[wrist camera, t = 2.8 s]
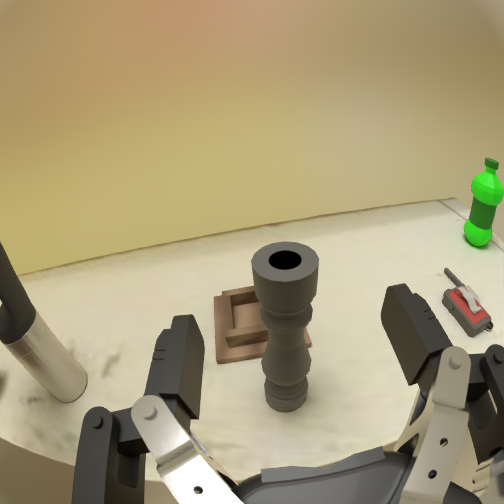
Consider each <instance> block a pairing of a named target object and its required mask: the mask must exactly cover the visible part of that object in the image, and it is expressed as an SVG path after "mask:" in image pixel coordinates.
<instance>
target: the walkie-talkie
mask: <svg viewBox="0 0 504 504" xmlns="http://www.w3.org/2000/svg"><path fill="white" fill-rule="evenodd" d="M444 271H445V272H446V273H447V274H448V275H449V276H450V277H451V278H452V279H453V281H454V282H455V283H456V284H457V285H458V286H456V287H455V288H453V289H451V290H450V289H447V290H446V291H445V292H444V295H443V296H444V297H443V300H442V303H443V304H444V306H445V307H446V308H447V309H448V311H449V312H450V313H451V314H452V316H454V318H455V319H456V320H457V322H458V323H459V324H460V325H461V327H462V328H463V329H464V331H465V332H466V333H467V335H468V336H469V337H474V336H475V335H477V334H479V333H480V332H482V331H483V330H485V329H486V328H488V329H489V330H490V329H492V328H493V323H492V322H491V317H490V315H489V314H488V313H487V312H486V311H485V310H484V308H483V307H482V306H481V305H480V302H479V297H478V295H477V294H476V293H475V292H474V291H473V290H472V289H471V287H470V286H469V285H468V286H465V285H464V284H462V283H461V282H460V281H459V280H458V278H457V277H456V276H455V275H454V274H453V273H452V272H451V271H450V270H449V269H448V268H445V269H444ZM489 324H490V326H489Z"/></svg>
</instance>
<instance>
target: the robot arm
mask: <svg viewBox="0 0 504 504" xmlns="http://www.w3.org/2000/svg"><path fill="white" fill-rule="evenodd" d="M0 299H1V301H2V305H1V307H0V340H1V342H2V343H3V344H4V345H5V346H6V347H7V349H8V350H9V351H10V352H11V353H12V354H13V355H14V357H15V358H16V359H17V360H18V361H19V362H20V363H21V364H22V365H23V366H24V368H25V369H26V370H27V371H28V372H29V373H30V374H31V375H32V376H33V377H34V378H35V379H36V380H37V381H38V382H39V383H40V384H41V385H43V386H44V387H45V388H46V389H47V390H48V391H49V392H50V393H51V394H53V395H54V396H55V397H56V398H58V399H59V400H60V401H62V402H71V401H74V400H75V399H77V398H78V397H79V396H80V395H81V394H82V393H83V391H84V389H85V387H86V383H87V375H86V372H85V370H84V369H83V368H82V367H81V366H80V365H79V364H78V363H77V361H76V360H75V359H74V358H73V357H72V356H71V354H70V353H69V352H68V351H67V350H66V349H65V347H64V346H63V345H62V344H61V342H60V341H59V340H58V339H57V337H56V336H55V335H54V334H53V332H52V331H51V330H50V328H49V327H48V326H47V324H46V323H45V322H44V320H43V319H42V318H41V316H40V315H39V313H38V312H37V310H36V309H35V308H34V306H33V305H32V303H31V301H30V299H29V297H28V295H27V293H26V291H25V289H24V288H23V286H22V284H21V282H20V281H19V279H18V277H17V275H16V273H15V271H14V269H13V267H12V265H11V263H10V261H9V259H8V256H7V254H6V252H5V250H4V248H3V246H2V244H1V242H0ZM381 321H382V325H383V327H384V329H385V331H386V333H387V336H388V338H389V340H390V342H391V345H392V347H393V349H394V351H395V354H396V356H397V358H398V361H399V363H400V365H401V368H402V370H403V373H404V375H405V377H406V380H407V382H408V385H409V386H410V385H413V384H416V383H418V385H419V389H418V391H417V395H416V398H415V401H414V404H413V407H412V410H411V413H410V416H409V419H408V422H407V424H406V427H405V429H404V431H403V433H402V434H401V436H400V437H399V439H398V441H397V443H396V445H395V447H394V449H393V451H383V448H382V446H380V447H377V448H374V449H371V450H367V451H364V452H360V453H356V454H353V455H351V456H349V457H347V458H345V459H343V460H341V461H339V462H337V463H335V464H333V465H330V466H328V467H325V468H312V467H297V466H288V467H279V468H269V469H261V474H257V475H255V476H252V477H250V478H248V479H246V480H244V481H242V482H241V483H239V484H237V483H236V481H235V480H234V479H233V478H232V477H231V476H230V475H229V474H228V473H227V472H226V471H225V470H224V469H223V468H222V467H221V466H220V465H219V464H218V463H217V462H216V461H215V459H214V458H213V457H212V456H211V455H210V454H209V452H208V451H207V450H206V449H205V447H204V446H203V445H202V444H201V442H200V441H199V440H198V439H197V437H196V436H195V435H194V433H193V432H192V431H191V429H190V420H191V419H199V413H200V399H201V386H202V374H203V363H204V352H205V347H204V340H203V337H202V334H201V332H200V330H199V327H198V325H197V323H196V320H195V318H194V316H193V315H192V314H190V315H178V316H174V317H173V320H172V325H171V329H164V330H163V331H162V333H161V334H160V335H159V337H158V338H157V341H156V345H155V349H154V351H155V352H154V353H153V357H152V359H153V360H152V362H151V366H150V370H149V375H148V380H147V384H146V389H145V393H144V395H143V397H141V398H140V399H138V400H137V401H136V402H135V403H134V405H133V407H131V408H128V409H123V410H119V411H114V412H110V411H109V410H107V409H106V408H104V407H94V408H92V409H90V410H89V411H88V412H87V413H86V415H85V416H84V419H83V424H82V429H81V434H80V439H79V445H78V451H77V458H76V465H75V472H74V482H73V492H72V504H144V482H145V461H146V453H149V452H151V454H152V455H153V457H154V459H155V460H156V462H157V465H158V466H157V471H158V473H159V475H160V477H161V478H162V480H163V481H164V483H165V484H166V485H167V487H168V488H169V490H170V491H171V493H172V494H173V495H174V497H175V498H176V499H177V501H178V502H179V503H180V504H504V347H502V346H500V345H497V344H494V345H491V346H490V347H488V349H487V350H486V352H485V353H482V354H468V353H467V352H466V351H465V350H464V349H462V348H460V347H456V346H453V345H452V343H451V341H450V340H449V338H448V336H447V334H446V333H445V331H444V329H443V328H442V326H441V324H440V323H439V321H438V319H437V318H436V316H435V314H434V313H433V311H431V308H430V307H429V305H428V303H427V302H426V300H425V299H423V298H422V297H421V296H419V295H418V294H417V293H414V294H412V292H411V291H410V289H409V288H408V286H407V285H406V284H404V283H403V284H398V285H393V286H389V287H388V288H387V290H386V294H385V298H384V302H383V306H382V310H381ZM489 389H490V392H491V394H492V396H493V399H494V402H495V404H496V407H497V414H496V411H495V409H494V406H493V403H492V401H491V398H490V395H489V393H488V390H489ZM467 424H468V428H469V431H470V434H471V438H472V441H473V445H474V448H475V453H476V457H477V461H478V468H477V470H476V473H475V474H474V475H473V477H472V482H473V483H474V484H475V486H474V489H473V492H470V491H468V490H466V489H464V488H462V487H460V486H459V485H457V484H455V483H453V482H451V478H452V475H453V473H454V470H455V467H456V464H457V461H458V458H459V454H460V451H461V448H462V444H463V440H464V436H465V432H466V428H467Z"/></svg>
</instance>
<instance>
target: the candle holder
mask: <svg viewBox="0 0 504 504" xmlns="http://www.w3.org/2000/svg"><path fill="white" fill-rule="evenodd" d="M251 263H252V271H253V280H254V288H255V294H256V297H257V298H258V299H259V301H260V303H261V304H262V305H261V308H260V317H261V321H262V322H263V324H264V325H265V326H266V327H267V328H268V335H269V338H268V341H267V345H266V348H265V351H264V355H263V358H262V361H261V363H262V369H263V372H264V374H265V375H266V380H265V384H264V388H265V395H266V401H267V402H268V404H269V405H270V407H272V408H273V409H275V410H277V411H282V412H289V411H294V410H296V409H297V408H299V407H301V405H302V404H303V403H304V401H305V399H306V394H307V388H308V382H307V377H306V375H307V374H308V372H309V371H310V366H311V358H310V354H309V351H308V348H307V344H306V341H305V338H304V331H305V327H306V326H307V325H308V323H309V322H310V321H311V318H312V312H313V309H312V306H311V304H310V303H311V302H312V300H313V298H314V297H315V295H316V290H317V280H318V265H319V258H318V256H317V254H316V252H315V251H314V250H312V249H311V248H310V247H308V246H306V245H303V244H300V243H297V242H278V243H272V244H269V245H267V246H264V247H262V248H261V249H259V250H258V251H257V252H256V253H255V254H254V256H253V258H252V260H251Z"/></svg>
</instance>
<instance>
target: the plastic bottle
mask: <svg viewBox="0 0 504 504" xmlns="http://www.w3.org/2000/svg"><path fill="white" fill-rule="evenodd" d="M485 165H486V171H484V172H482V173H480V174H479V175H477V176H476V177H474V179H473V181H472V185H471V188H472V189H471V191H472V193H473V195H474V197H473V203H472V207H471V212H470V216H469V219H468V220H467V221H466V223H465V225H464V232H465V234H466V237H467V239H468V241H469V243H471V244H472V245H474V246H476V247H481V246H483V245H485V244H487V243H488V241H489V240H490V239H491V237H492V223H493V219H494V216H495V211H496V207H497V205H498V204H499V203H500V202H501V200H502V198H503V194H504V190H503V187H502V185H501V183H500V181H499V179H498V178H497V176H496V170H497V169H498V165H499V163H498V162H497V161H495V160H493V159H490V158H486V159H485Z"/></svg>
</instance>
